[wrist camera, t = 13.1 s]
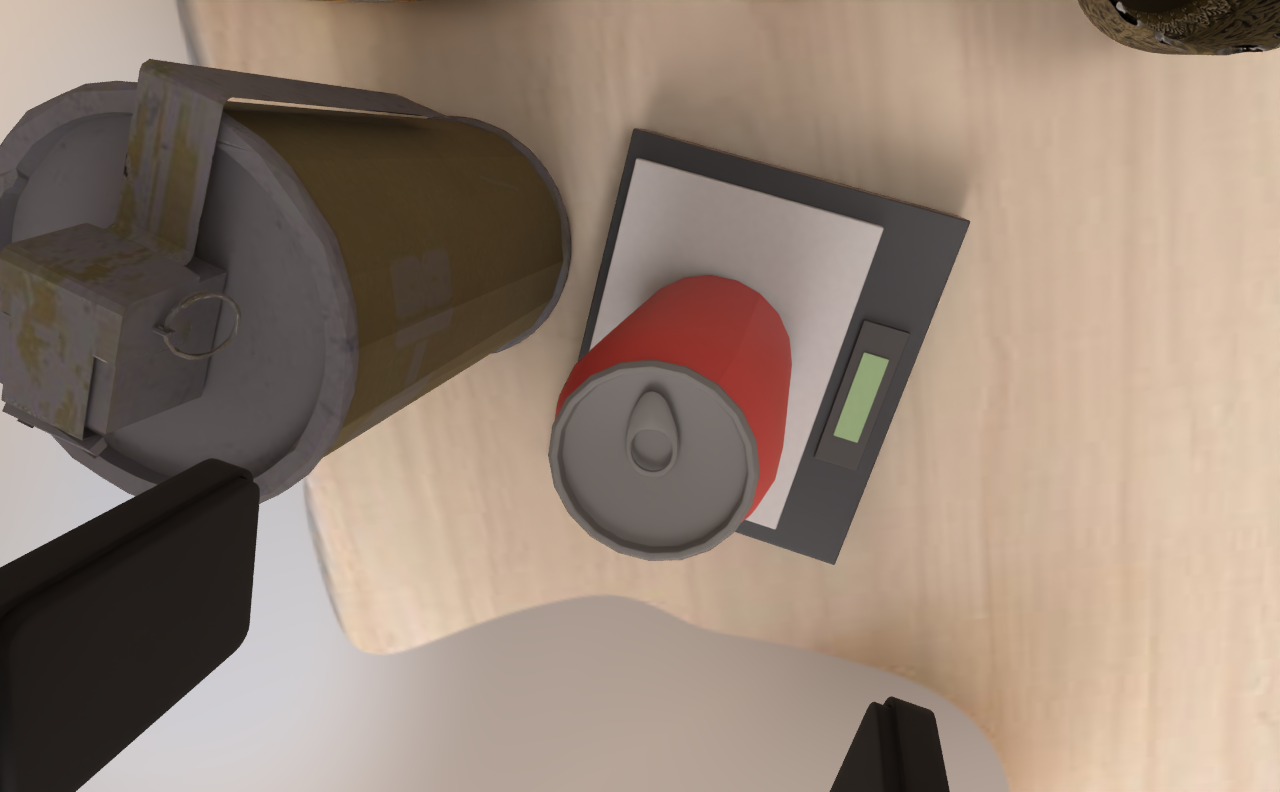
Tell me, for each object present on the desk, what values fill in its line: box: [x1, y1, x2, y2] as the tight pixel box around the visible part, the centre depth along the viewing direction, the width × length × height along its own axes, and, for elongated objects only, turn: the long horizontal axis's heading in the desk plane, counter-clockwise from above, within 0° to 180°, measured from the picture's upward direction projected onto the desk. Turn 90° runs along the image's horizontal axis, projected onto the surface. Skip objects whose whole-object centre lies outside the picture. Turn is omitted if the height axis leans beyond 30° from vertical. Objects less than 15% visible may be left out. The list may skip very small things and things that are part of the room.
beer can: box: [548, 275, 792, 561], centre depth 26 cm, size 7×7×12 cm
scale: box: [578, 128, 970, 565], centre depth 32 cm, size 15×13×3 cm
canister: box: [0, 59, 571, 504], centre depth 26 cm, size 11×10×20 cm
